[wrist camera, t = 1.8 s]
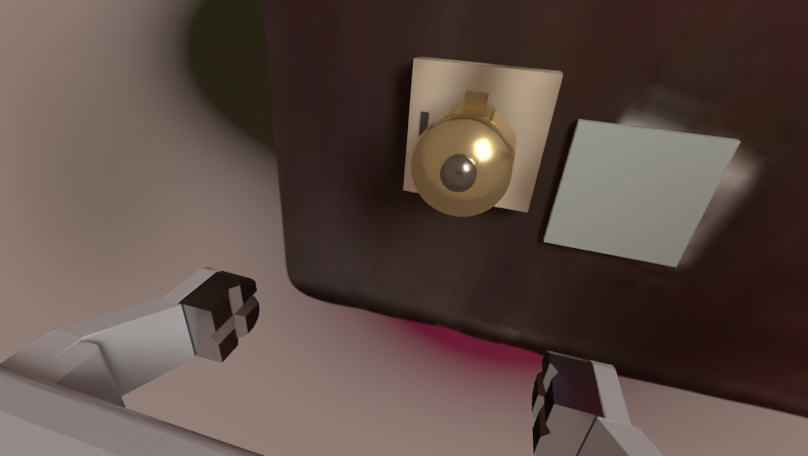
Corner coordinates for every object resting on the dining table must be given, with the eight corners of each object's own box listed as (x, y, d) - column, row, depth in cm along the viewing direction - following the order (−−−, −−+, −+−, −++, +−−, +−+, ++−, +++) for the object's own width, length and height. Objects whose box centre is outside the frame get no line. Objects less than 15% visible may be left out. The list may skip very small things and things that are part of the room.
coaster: (736, 138, 25) (740, 141, 25) (673, 263, 30) (676, 267, 30) (578, 118, 27) (579, 120, 27) (543, 238, 32) (543, 241, 32)
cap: (525, 95, 24) (526, 114, 19) (502, 202, 27) (497, 242, 22) (435, 85, 25) (412, 100, 20) (424, 188, 29) (402, 223, 23)
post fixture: (560, 71, 26) (573, 86, 19) (527, 202, 31) (528, 251, 24) (420, 56, 28) (387, 65, 21) (409, 181, 33) (380, 221, 26)
